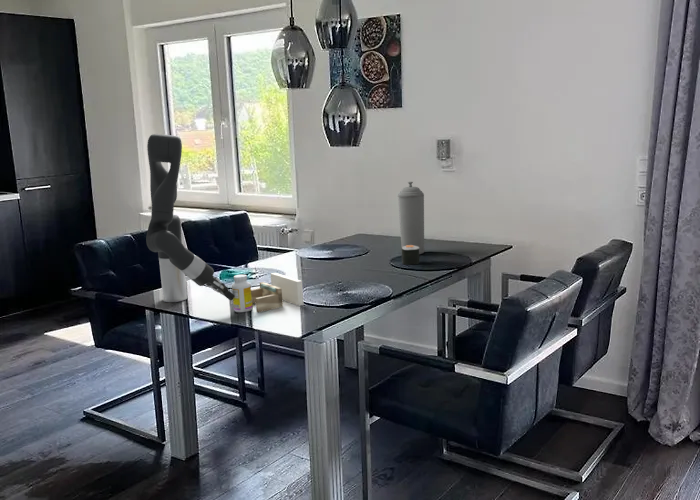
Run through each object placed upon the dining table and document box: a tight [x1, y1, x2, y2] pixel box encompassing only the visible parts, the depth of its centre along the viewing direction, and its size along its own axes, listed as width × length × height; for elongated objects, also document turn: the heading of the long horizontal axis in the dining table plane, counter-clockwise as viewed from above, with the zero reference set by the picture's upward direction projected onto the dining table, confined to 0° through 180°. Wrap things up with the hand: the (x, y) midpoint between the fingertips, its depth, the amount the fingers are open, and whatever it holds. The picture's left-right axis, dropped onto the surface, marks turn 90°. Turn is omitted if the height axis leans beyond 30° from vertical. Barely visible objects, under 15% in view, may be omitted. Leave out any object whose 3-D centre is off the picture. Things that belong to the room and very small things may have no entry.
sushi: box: [401, 245, 420, 266], centre depth 309 cm, size 8×8×8 cm
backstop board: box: [270, 272, 304, 306], centre depth 255 cm, size 20×2×9 cm, turn 35°
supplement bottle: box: [231, 274, 253, 313], centre depth 244 cm, size 7×7×13 cm
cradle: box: [251, 281, 284, 313], centre depth 249 cm, size 14×10×7 cm
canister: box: [397, 181, 425, 255], centre depth 328 cm, size 13×13×35 cm
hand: (232, 298), depth 242 cm, fingers closed
